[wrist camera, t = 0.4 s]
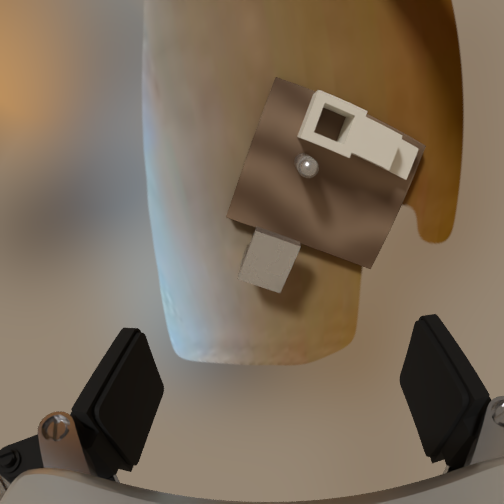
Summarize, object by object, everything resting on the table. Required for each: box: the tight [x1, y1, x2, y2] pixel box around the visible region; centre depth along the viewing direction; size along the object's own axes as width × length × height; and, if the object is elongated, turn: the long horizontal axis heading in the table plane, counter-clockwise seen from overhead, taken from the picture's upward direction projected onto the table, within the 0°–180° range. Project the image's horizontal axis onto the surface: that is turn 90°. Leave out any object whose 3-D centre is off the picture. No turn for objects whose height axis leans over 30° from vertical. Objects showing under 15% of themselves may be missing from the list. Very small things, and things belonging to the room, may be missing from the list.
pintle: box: [294, 153, 319, 178], centre depth 29 cm, size 2×2×6 cm
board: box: [226, 77, 426, 269], centre depth 33 cm, size 17×19×2 cm
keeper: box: [238, 226, 301, 293], centre depth 35 cm, size 6×5×6 cm
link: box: [297, 90, 418, 180], centre depth 28 cm, size 13×5×4 cm, turn 71°
